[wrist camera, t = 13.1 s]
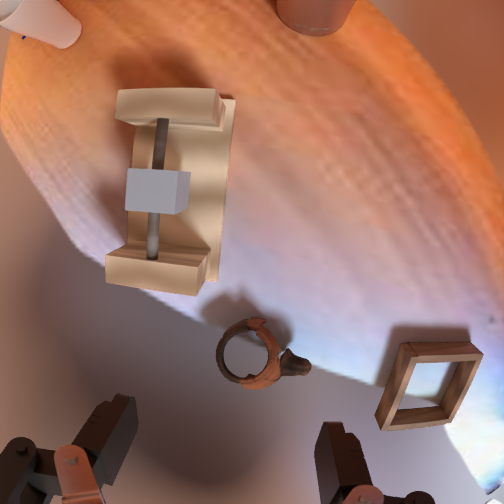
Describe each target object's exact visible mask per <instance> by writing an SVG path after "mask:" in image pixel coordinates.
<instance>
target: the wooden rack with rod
mask: <svg viewBox="0 0 504 504" xmlns="http://www.w3.org/2000/svg"><path fill="white" fill-rule="evenodd" d="M235 108H236V100H231V99H221V97H220V96H219V94H218V92H217V90H216V89H211V88H141V89H123V90H118V96H117V102H116V108H115V115H114V118H116V119H119V120H121V121H124V122H127V123H130V124H132V125H135V126H136V128H135V136H134V145H133V155H132V165H131V168H136V169H156V170H172V171H185V172H191V177H190V187H189V198H188V208H187V209H185V210H183V211H181V212H179V213H177V214H175V215H174V214H163V213H152V212H140V211H128V231H127V244H126V245H124V246H122V247H120V248H118V249H116V250H114V251H112V252H110V253H108V254H106V255H105V267H106V283H112V284H118V285H124V286H130V287H136V288H142V289H149V290H155V291H162V292H168V293H175V294H182V295H189V296H197V294H198V292H199V290H200V289H201V287H202V285H203V283H204V282H205V280H206V281H214V282H217V281H218V274H219V262H220V251H221V240H222V229H223V218H224V208H225V198H226V188H227V178H228V169H229V159H230V150H231V141H232V133H233V124H234V116H235Z"/></svg>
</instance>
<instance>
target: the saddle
mask: <svg viewBox="0 0 504 504" xmlns="http://www.w3.org/2000/svg"><path fill="white" fill-rule="evenodd" d="M190 177H191V172H185V171H172V170H156V169H136V168H128V171H127V183H126V197H125V210H128V211H140V212H152V213H163V214H174V215H175V214H177V213H179V212H181V211H183V210H185V209H187V208H188V198H189V187H190Z"/></svg>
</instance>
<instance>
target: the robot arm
mask: <svg viewBox="0 0 504 504" xmlns="http://www.w3.org/2000/svg"><path fill="white" fill-rule="evenodd" d="M355 1H356V0H276V9H277V13H278V15H279V17H280V19H281V20H282V21H283V23H285V24H286V25H287V26H288V27H289V28H291V29H293V30H294V31H297V32H299V33H301V34H305V35H310V36H324V35H328V34H331V33H333V32H335V31H337V30H338V29H339V28H341V27H342V25H343V23H344V22H345V20H346V18H347V16H348V14H349V12H350V11H351V9H352V7H353V5H354V3H355ZM138 424H139V422H138V415H137V407H136V400H135V397H133V396H129V395H125V394H121V393H117V394H116V395H115V397H114V399H113V400H112V402H108V401H104V402H103V403H101V404H99V405H98V406H96V408H95V409H94V411H93V412H92V414H91V416H90V417H89V418H88V420H87V422H86V423H85V424H84V426H83V427H82V429H81V430H80V432H79V433H78V435H77V436H76V438H75V439H74V441H73V442H72V444H71V445H64V446H61V447H59V448H58V449H57V450H56V451H53V450H46V449H40V448H36V446H35V444H34V442H33V441H32V440H30V439H28V438H25V437H17V438H14V439H12V440H11V441H10V442H9V443H8V444H7V446H6V447H5V449H4V450H3V452H2V453H1V454H0V504H50V502H51V499H52V498H53V496H54V495H58V496H63V498H62V504H106V502H105V499H104V497H103V494H102V491H101V488H102V486H103V484H104V483H105V484H108V485H111V486H112V485H113V483H114V481H115V479H116V476H117V474H118V472H119V470H120V468H121V466H122V463H123V461H124V459H125V457H126V455H127V453H128V451H129V448H130V446H131V444H132V442H133V440H134V438H135V436H136V434H137V430H138ZM314 458H315V465H316V471H317V479H318V486H319V492H320V500H321V504H435V501H434V499H433V498H432V496H431V495H429V494H428V493H426V492H422V491H415V492H412V493H410V494H408V495H407V496H406V497H405V498H400V497H391V496H386V495H383V493H382V492H381V491H380V490H379V489H378V488H377V487H375V486H373V484H372V481H371V477H370V474H369V471H368V468H367V464H366V461H365V459H364V454H363V452H362V448H361V444H360V441H359V440H358V439H357V438H356V436H355V435H354V434H353V433H345V430H344V427H343V423H342V422H324V423H323V425H322V428H321V431H320V433H319V436H318V439H317V442H316V445H315V451H314Z"/></svg>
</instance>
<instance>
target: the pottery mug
mask: <svg viewBox="0 0 504 504" xmlns="http://www.w3.org/2000/svg"><path fill="white" fill-rule="evenodd" d="M264 323H266V320H265V319H261V318H251V319H244V320H242V321H240V322H238V323H236V324H235V325H233V326H232V327H230V328H229V329H228V330H227V331H226V332H225V333H224V335H223V338H222V339H221V340H220V341H219V343H218V346H217V349H216V361H217V363H218V367H219V369H220V371H221V372H222V374H223V375H224V377H225V378H227V379H228V380H229V381H231V382H235V383H240V384H242V387H243V388H246V389H254V390H255V389H262V388H265V387H268V386H269V385H272V384H273V383H275V382H276V381H278V380H279V379H280V377H281V376H296V375H307V374H308V373H309V371H310V370H311V366H312V365H311V363H310V362H309V360H307V359H305V358H301V357H298V356H296V355H294V354H293V353H292V351H291V350H290V349H289V348H288V349H286V351H285V352H284V353H283V354H282V356H281V358H280V360H279V358H278V354H279V353H281V349H280V347H279V345H278V343H277V341H276V339H275V338H274V336H273V335H272V334H271V332H270V331H269V330H268V329H267V328H265V327H264V326H262V324H264ZM248 330H253V331H256V335H257V336H258V337H259V338H261V339H262V341H263V342H264V343H265V345H266V347H267V351H268V361H267V364H266V366H265V368H264V369H263V371H262V372H260V373H259V374H258V375H256V376H255V375H252V374H248V376H247V377H245V378H242V377H241V378H240V377H237V376H235V375H234V374H232V373H231V372H230V371H229V370H228V368H227V367H226V365H225V363H224V356H223V353H224V348H225V346H226V343H227V342H228V341H229V340H230V339H231V338H232V337H233V336H234V335H236V334H239V333H243V332H248Z"/></svg>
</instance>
